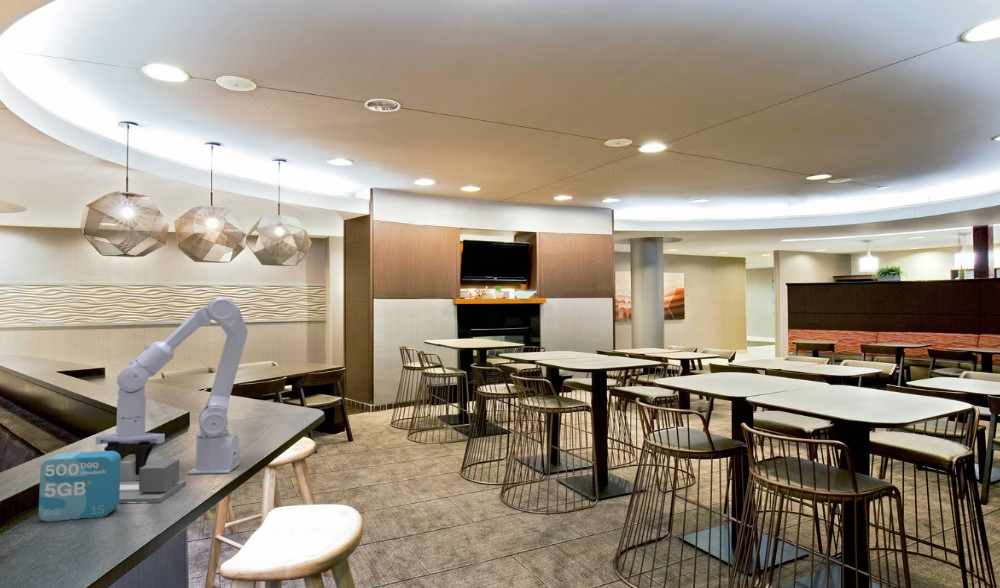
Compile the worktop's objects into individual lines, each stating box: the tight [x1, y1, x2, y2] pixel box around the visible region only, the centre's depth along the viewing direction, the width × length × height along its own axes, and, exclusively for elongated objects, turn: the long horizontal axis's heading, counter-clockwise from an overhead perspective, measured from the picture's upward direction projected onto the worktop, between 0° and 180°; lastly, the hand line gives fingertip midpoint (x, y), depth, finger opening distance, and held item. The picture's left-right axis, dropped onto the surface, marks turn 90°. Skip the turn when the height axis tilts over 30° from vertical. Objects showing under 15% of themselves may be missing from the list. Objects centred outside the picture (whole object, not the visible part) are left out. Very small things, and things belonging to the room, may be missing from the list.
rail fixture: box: [119, 458, 187, 504], centre depth 120 cm, size 20×12×7 cm, turn 97°
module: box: [120, 454, 147, 482], centre depth 130 cm, size 4×7×5 cm, turn 6°
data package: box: [38, 450, 121, 522], centre depth 108 cm, size 12×4×12 cm, turn 105°
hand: (129, 473), depth 130 cm, fingers closed on module, 4 cm apart
